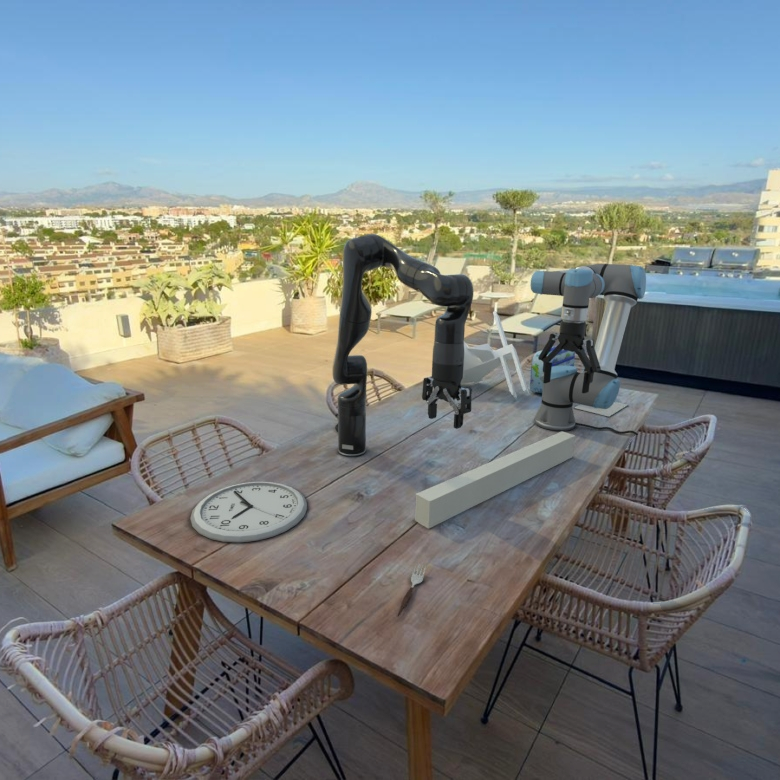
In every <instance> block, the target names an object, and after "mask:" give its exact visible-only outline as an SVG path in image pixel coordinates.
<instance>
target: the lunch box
mask: <svg viewBox="0 0 780 780" xmlns="http://www.w3.org/2000/svg"><path fill="white" fill-rule="evenodd" d="M556 346H557V345H553V347H552V348H551V350H550V351H549V353H548V355H549V354H550V353H551V352H552V351H553V350H554V349H555V348H556ZM542 350H543V349H541V350H538V351H537V352H535V353H534V355H533V357H532V359H531V366H530V379H529V391H531V392H532V393H537V394H542V391H543V381H544V380H543V379H544V372H543V361H541V360H539V359H538V357H539V355H540V354H541V352H542ZM548 355H547V356H548ZM547 356H546V357H547ZM575 357H576V353H575V351H574V352H571V351H569V350H564V349H563V350H561V351H560V352H559V353H558V354H557V355H556V356H555V357H554V358H553V359H552V360H551V361H550V362H551V363H552V367H553V366H574V367H575ZM550 362H549V363H550Z"/></svg>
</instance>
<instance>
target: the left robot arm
mask: <svg viewBox="0 0 780 780" xmlns="http://www.w3.org/2000/svg"><path fill="white" fill-rule="evenodd" d="M379 268H387V269H391V270H392V271H394V274H395V276H396V278H397V279H398V281H399V282H400V283H401V284H403V285H404V286H406V287H408V288H409V289H412V290H414V291H416V292H418V293H420V294H421V295H422V296H423V297H424V298H426V300H428V301H429V302H430V303H432V304H434V305H435V306H439V307H445V308H446V309H445V311H444V313H443V314H441V315H440V316H438V317H437V318H436V319H435V322H434V336H433V337H434V340H433V341H434V342H433V347H432V360H431V376H427V377H424V378H423V380H422V382H423V383H422V392H421V399H422V401H426V404H427V415H428V416H427V417H428V419H430V420H434V419H436V418H437V414H438V403H437V402H438V401H439V400H441V401H444V402H447V403H448V404H449V406H450V407H452V410H453V411H454V414H453V428H454V429H456V430H457V429H460V428H462V427H463V425H464V416H465V415H466V414H468V413H471V412H472V397H473V396H472V392H473V391H472V388H471V387H468V388H464V387H462V383H461V380H462V378H463V366H464V342H465V328H466V327H465V326H466V322H467V320H468V317H469V313H470V310H471V307H472V304H473V300H474V291H475V290H474V285H473V282H472V280H471V279H470V277H469V276H468V275H466V274H462V273H457V274H442V273H441V272H440V270H439V269H438V268H437V267H436V266H434V265H432V264H431V263H427V262H425V261H423V260H420V259H417V258H415V257H413V256H411V255H410V254H408V253H406V252H404V251H403V250H401V249H400V248H399V247H398V246H395V245H394V244H393V243H392V242H390V241H389V240H387V239H386V238H384V237H382V236H381V235H379V234H376V233H370V234H364V235H360V236H357V237H353V238H350V239H347V241H346V242H345V244H344V246H343V251H342V289H341V302H340V310H339V315H338V327H337V339H336V346H335V352H334V357H333V362H332V370H331V371H332V372H331V373H332V379H333V381H334V383H336V385H341V386H343V385H352V386H350V388H348V389H346V390H344V391H342V392H340V393H339V394H338V396H337V413H335V415H334V416H335V417H337V423H336V425H335V427H334V428H335V430H336V432H337V443H338V444H337V446H338V447H337V451H338V454H339V455H341V456H343V457H350V458H353V457H354V458H355V457H360V456H362V455H365V454H366V452H367V448H366V446H367V443H366V442H367V441H366V440H367V409H366V407H367V401H366V400H367V382H368V362H367V359H366V357H365V356H364V355H362V354H355V355H354V354H353V355H350V353H351V352H352V351H353V349H354V348H355V347H356V346H357V345H358V344H359V343H360V342H361V341H362V340H363V338H365V336H366V335H367V333H368V332H369V330H370V325H371V319H372V311H373V310H372V306H371V302H370V301H369V299H368V297H367V296H366V294H365V293H364V291H363V279H364V275H365V273H367V272H371V271H374V270H377V269H379Z"/></svg>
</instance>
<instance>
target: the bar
mask: <svg viewBox="0 0 780 780" xmlns="http://www.w3.org/2000/svg"><path fill="white" fill-rule="evenodd" d="M575 441H576V435H575V434H573V433H569V432H567V431H558V432H557V433H555V434H552V435H550V436H547V437H545V438H542V439H541V440H538V441H536V442H534V443H532V444H531V443H530V444H529V445H526V446H524V447H522V448H519V449H517V450H515V451H513V452H510V453H508V454H505V455H503V456H501V457H499V458H496V459H494V460H491V461H489V462H487V463H485V464H482V465H480V466H477V467H475V468H473V469H470V470H467V471H466V472H463V473H461V474H459V475H456V476H454V477H452V478H449V479H447V480H445V481H442V482H440V483H437V484H435V485H434V486H431V487H428V488H426V489H424V490H422V491H419V492H417V493H415V509H414V510H415V511H414V521H415V522H416V523H418V524H419V525H421V526H423V527H424V528H426V529H428V530H429V529H431V528H433V527H435V526H437V525H440V524H441V523H443V522H445V521H447V520H450V519H451V518H453V517H455V516H457V515H459V514H461V513H463V512H465V511H468V510H469V509H471V508H474V507H476V506H477V505H480V504H481V503H484V502H486V501H488V500H490V499H492V498H494V497H495V496H498V495H499V494H501V493H503V492H506V491H507V490H509V489H512V488H513V487H515V486H517V485H519V484H522V483H523V482H525V481H528V480H529V479H531V478H534V477H536V476H538V475H540V474H541V473H544V472H545V471H547V470H550V469H552V468H554V467H556V466H558V465H560V464H562V463H564V462H565V461H568V460H570V459H572V458H573V456H574V449H575Z"/></svg>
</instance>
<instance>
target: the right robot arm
mask: <svg viewBox="0 0 780 780" xmlns="http://www.w3.org/2000/svg"><path fill="white" fill-rule="evenodd" d="M529 287H530V290H531V292H532V293H533V294H537V295H546V296H559V297H560V296H561V297H563V298H562V306H561V313H560V319H561V321H560V322H559V331H558V332H559V334H558V332H552V333H549V336H548V340H547V342H546V344H545V346H544V347H543V349H541V350H542V352H541V354H540V355H539V357H538V359H539V360H541V361H543V372H544V379H543V380H544V381H543V391H542V393H541V402H540V405H539V407H538V410H537V411H536V413H535V416H534V424H535V425H536V426H537V427H539V428H542V429H544V430H549V431H556V432H561V431H563V432H567V431H572V430H574V429H575V428H576V426H581V427H585V428H588V429H593V430H599V431H601V430H609V431H612V432H614V433H616V434H620V435H623V434H624V435H625V434H634V435H635V436H639V433H637V432H636V431H634V430H632V429H631V430H624V431H623V430H622V431H620V430H616V429H614V428H612V427H610V426H600V427H599V426H593V425H589V424H586V423H580V422H576V418H575V417H576V416H575V413H574V407H573V405H574V404H578V405H580V404H581V405H586V406H591V407H594V408H601V409H608V408H610V407H611V406H612V405H613V403H614V402H616V400H617V398H618V395H619V392H620V390H621V389H620V387H621V380H620V379H618V373H617V372H616V370H615V369H616V364H617V361H618V357H619V354H620V350H621V346H622V342H623V338H624V334H625V331H626V327H627V323H628V320H629V316H630V312H631V309H632V308H633V307H634V306H636V305H637V303H638V300H642V299H643V298H644V297H645V294H646V288H647V274H646V269H645V268H644V267H643V266H641V265H634V264H617V263H614V264H613V263H612V264H611V263H595V264H588V265H582V266H578V267H576V268H569V269H562V270H551V271H550V270H549V271H548V270H536V271H534V272H533V273H532V274H531V278H530V285H529ZM598 296H603V301H604V302H605V307H604V311H603V315H602V318H601V321H600V326H599V329H598V333H597V336H596V341H595V340H594V339H593V338H591V339H585V334H586V328H587V323H586V322H587V320H588V314H589V305H590V299H595V298H596V297H598ZM557 341H558V342H559V343H558V344H557V345H555V344H556V342H557ZM583 345H584V346H583ZM553 346H556V348H555V349H554V350H553V351H552V352H551V353H550V354H549V355H548V353H549V351H550V350H551V348H552V347H553ZM584 347H585V348H586V349H585V348H584ZM563 349H564V350H569V351H571V352H574V351H575V355H577V357H578V358H579V359H580V362H581V363H582V365H583V367H584V368H583V372H578V368H577V366H575V365H574V366H553V367H552V363H551V362H550V361H551V360H552V359H553V358H554V357H555V356H556V355H557V354H558V353H559V352H560V351H561V350H563ZM586 352H587V353H586ZM547 355H548V356H547ZM546 356H547V357H546ZM549 362H550V363H549Z"/></svg>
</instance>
